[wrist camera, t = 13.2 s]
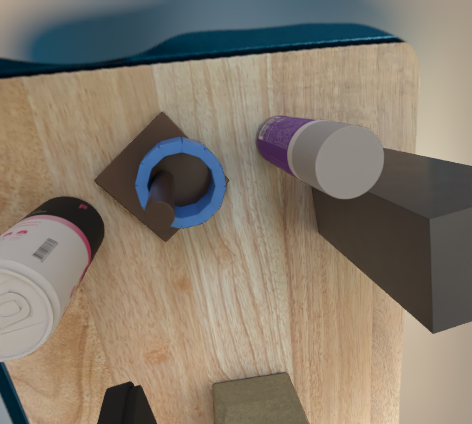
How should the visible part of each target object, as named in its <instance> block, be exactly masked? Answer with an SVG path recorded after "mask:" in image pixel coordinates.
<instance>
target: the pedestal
mask: <svg viewBox="0 0 472 424" xmlns="http://www.w3.org/2000/svg"><path fill="white" fill-rule="evenodd" d="M383 151H384V164H383V169H382V172H381V174H380V176H379V178H378V180H377V181H376V183H375V184H374V185H373V186H372V187H371V188H370V189H369V190H368V191H367V192H365V193H364V194H362V195H360V196H358V197H355V198H352V199H338V198H335V197H332V196H330V195H328V194H326V193H324V192H322V191H320V190H318V189H317V188H315V187H313V186H312V192H313V198H314V205H315V211H316V218H317V224H318V231H319V234H320V235H322V236H323V237H324V238H325V239H326V240H327V241H328V242H330V243H331V244H332V245H333V246H334V247H335V248H336V249H337V250H339V251H340V252H341V253H342V254H343V255H344V256H345V257H347V258H348V259H349V260H350V261H351V262H352V263H353V264H354V265H356V266H357V267H358V268H359V269H360V270H361V271H362V272H364V273H365V274H366V275H367V276H368V277H369V278H370V279H371V280H373V281H374V282H375V283H376V284H377V285H378V286H379V287H381V288H382V289H383V290H384V291H385V292H386V293H387V294H388V295H390V296H391V297H392V298H393V299H394V300H395V301H396V302H397V303H399V304H400V305H401V306H402V307H403V308H404V309H405V310H407V311H408V312H409V313H410V314H411V315H412V316H413V317H415V318H416V319H417V320H418V321H419V322H420V323H421V324H422V325H424V326H425V327H426V328H427V329H428V330H429V331H430V332H431V333H433V334H434V333H437V332H440V331H443V330H447V329H449V328H452V327H456V326H459V325H462V324H465V323H468V322H471V321H472V166H469V165H464V164H459V163H454V162H449V161H444V160H440V159H435V158H430V157H425V156H420V155H415V154H410V153H406V152H401V151H396V150H391V149H386V148H383Z"/></svg>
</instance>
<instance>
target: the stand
mask: <svg viewBox="0 0 472 424" xmlns="http://www.w3.org/2000/svg"><path fill="white" fill-rule="evenodd" d="M176 137H181V138H182V137H185V138H188V137H187V136H186V135H185V134H184V133H183V132H182V131H181V130H180V129H179V127H178V126H177V125H176V124H175V123H174V122H173V121H172V120H171V119H170V118H169V117H168V116H167V115H166V114H165V113H164V112H163V111H162V112H161V113H160V114H159V115H158V116H157V117H156V118H155V119H154V120H153V121H152V122H151V123H150V124H149V125H148V126H147V127H146V128H145V129H144V130H143V131H142V132H141V133H140V134H139V135H138V136H137V137H136V138H135V139H134V140H133V141H132V142H131V143H130V144H129V145H128V146H127V147H126V148H125V149H124V150H123V151H122V152H121V153H120V154H119V155H118V156H117V157H116V158H115V160H114V161H113V162H112V163H111V164H110V165H109V166H108V167H107V168H106V169H105V170H104V171H103V172H102V173H101V174H100V175H99V176H98V177H97V178H96V179H95V180H94V181H95V182H96V183H97V184H98V185H100V186H101V187H102V188H103V189H104V190H105V191H106V192H108V193H109V194H110V195H111V196H112V197H113V198H115V199H116V200H117V201H118V202H119V203H120V204H122V205H123V206H124V207H125V208H126V209H127V210H129V211H130V212H131V213H132V214H133V215H134V216H136V217H137V218H138V219H139V220H140V221H141V222H143V223H144V224H145V225H146V226H147V227H148V228H150V229H151V230H152V231H153V232H154V233H155V234H157V235H158V236H159V237H160V238H161V239H162V240H164V241H165V242H166V241H167V240H168V239H169V238H170V237H172V236H173V235H174V234H175V233H176V232H177V231H178V230H179V229H180V228H175V227H171V225H172V224H173V222H174V219H175V206H178V207H183V206H187V205H191V204H195V203H197V202H198V201H199V200H200V199H201V198H202V197H203V196H204V195H205V194H206V193H207V190H208V187H209V184H210V181H211V176H210V172H209V168H208V166H207V165H206V164H205V163H204V162H203V161H202V160H201V159H200V158H199V157H195V156H192V155H189V154H185V153H178V154H174V155H169V156H165V157H164V158H163V159H162V160H160V161H159V162H158V163H157V164H156V165H155V166H154V167H153V168H152V172H151V176H150V180H151V183H152V185H151V189H150V192H149V196H148V200H147V203H146V207H145V210H143V207H141V204H140V201H139V198H138V195H137V192H136V188H135V186H136V185H135V182H136V178H137V174H138V170H139V166H140V163H141V162H142V160H143V158H144V156H145V155H146V154H147V153H148V152H149V151H150V150H151V149H152V148H153V147H154V146H155V145H156V144H157V143H158V142H161V141H163V140H168V139H172V138H176ZM188 139H189V138H188ZM224 177H225V181H226V184H227V183H228V182H229V179H228V178H227V177H226V176H225V175H224Z"/></svg>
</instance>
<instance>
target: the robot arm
mask: <svg viewBox="0 0 472 424" xmlns="http://www.w3.org/2000/svg"><path fill="white" fill-rule="evenodd" d="M97 424H157V422H156V420H155V418H154V415H153V413H152V410H151V408H150V405H149V403H148V400H147V398H146V396H145V393H144V391H143V388H142V386H141V385H138V386H134V384H133V383H132V382H127V383H123V384H120V385H117V386H113V387H110V388H108V389H107V390H106V392H105V396H104V399H103V403H102V407H101V411H100V415H99V419H98V423H97Z"/></svg>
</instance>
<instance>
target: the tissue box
mask: <svg viewBox="0 0 472 424" xmlns="http://www.w3.org/2000/svg"><path fill="white" fill-rule="evenodd" d="M212 387H213V405H214V423H215V424H309V422H308V419H307V417H306V415H305V412H304V410H303V408H302V405H301V403H300V400H299V398H298V396H297V393H296V391H295V389H294V386H293V384H292V382H291V379H290V377H289V375H288V373H282V374H275V375H269V376H262V377H256V378H250V379H243V380H237V381H230V382H224V383H218V384H214V385H213V386H212Z"/></svg>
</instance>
